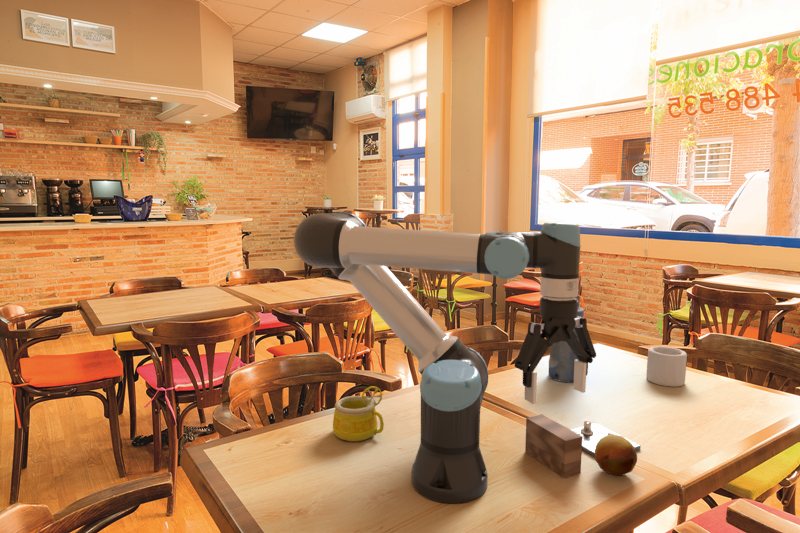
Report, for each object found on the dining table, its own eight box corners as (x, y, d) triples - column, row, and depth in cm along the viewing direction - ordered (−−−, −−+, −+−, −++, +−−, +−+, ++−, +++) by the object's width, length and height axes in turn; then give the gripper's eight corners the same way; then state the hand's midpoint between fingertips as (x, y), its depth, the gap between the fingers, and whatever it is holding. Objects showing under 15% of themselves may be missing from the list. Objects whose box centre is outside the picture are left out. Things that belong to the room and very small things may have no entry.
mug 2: (692, 387, 151) (694, 355, 150) (656, 387, 151) (658, 355, 150) (668, 372, 165) (670, 343, 163) (636, 372, 165) (637, 343, 164)
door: (580, 473, 103) (582, 436, 102) (564, 478, 101) (565, 440, 100) (540, 447, 114) (542, 414, 113) (525, 451, 112) (526, 417, 111)
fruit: (644, 479, 100) (646, 442, 99) (610, 486, 98) (612, 448, 97) (618, 461, 108) (620, 426, 107) (585, 467, 105) (587, 431, 104)
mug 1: (324, 440, 117) (323, 391, 116) (345, 421, 127) (344, 376, 126) (374, 449, 113) (374, 399, 111) (391, 429, 123) (391, 382, 121)
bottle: (543, 373, 164) (547, 283, 160) (572, 371, 165) (576, 282, 161) (555, 383, 155) (559, 288, 151) (585, 382, 156) (590, 287, 152)
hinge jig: (601, 461, 108) (602, 446, 107) (558, 436, 119) (559, 422, 119) (640, 449, 113) (641, 435, 112) (595, 426, 124) (596, 413, 124)
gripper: (522, 306, 94) (520, 413, 97) (616, 295, 105) (611, 391, 107) (498, 299, 101) (496, 399, 103) (589, 289, 112) (585, 380, 114)
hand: (555, 395), depth 105 cm, fingers open, 13 cm apart
